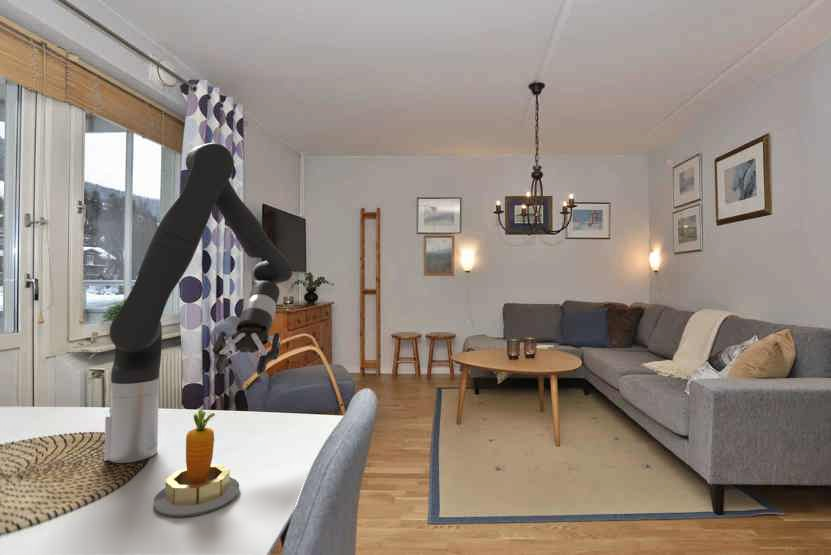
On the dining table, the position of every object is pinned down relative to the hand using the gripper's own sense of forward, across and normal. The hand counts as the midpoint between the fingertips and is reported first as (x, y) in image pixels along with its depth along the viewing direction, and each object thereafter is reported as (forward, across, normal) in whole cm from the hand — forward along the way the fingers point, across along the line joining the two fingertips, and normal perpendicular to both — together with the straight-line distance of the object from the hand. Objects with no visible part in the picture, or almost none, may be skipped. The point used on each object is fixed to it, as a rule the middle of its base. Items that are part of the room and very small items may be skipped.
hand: (239, 372), depth 96 cm
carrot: (+24, -1, +3) cm, 25 cm away
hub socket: (+25, -1, +3) cm, 25 cm away
